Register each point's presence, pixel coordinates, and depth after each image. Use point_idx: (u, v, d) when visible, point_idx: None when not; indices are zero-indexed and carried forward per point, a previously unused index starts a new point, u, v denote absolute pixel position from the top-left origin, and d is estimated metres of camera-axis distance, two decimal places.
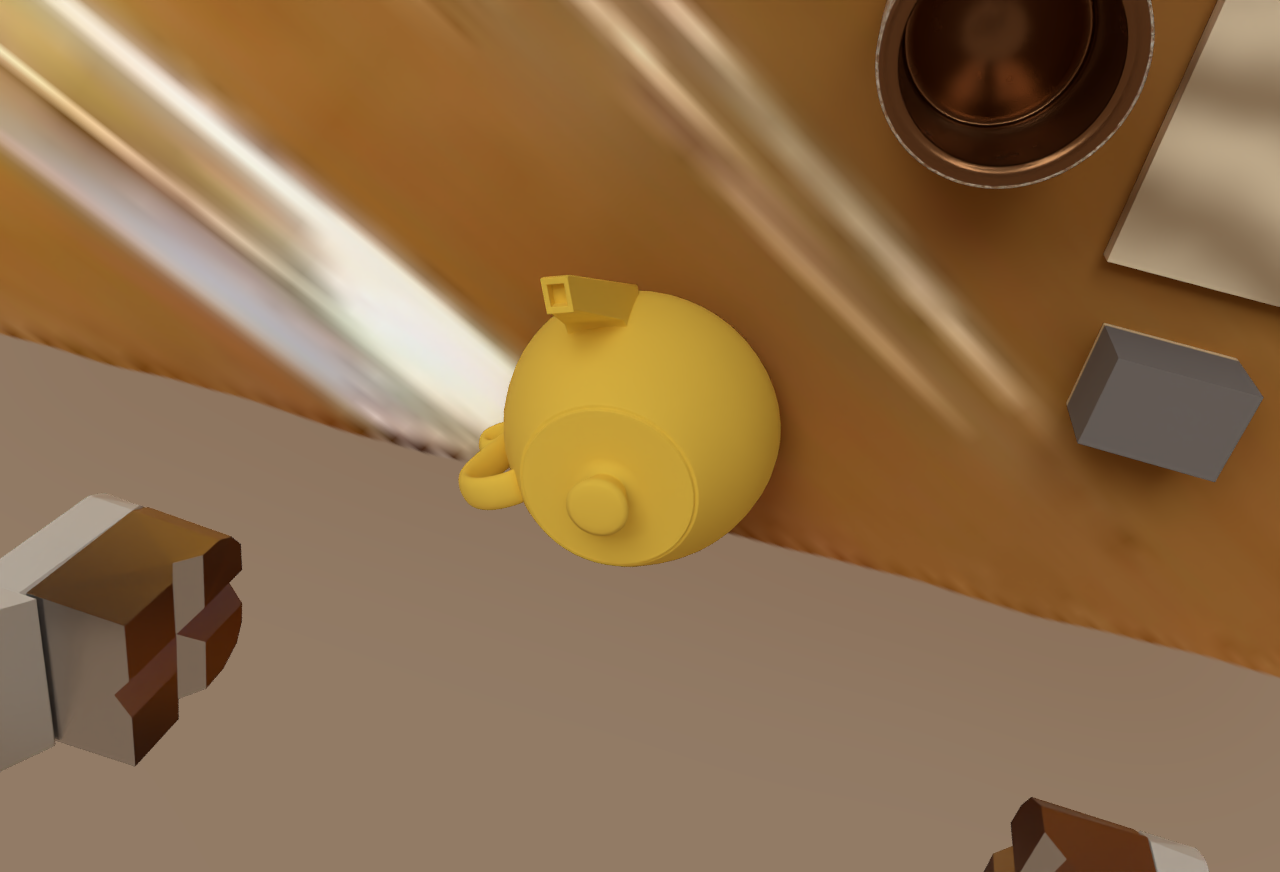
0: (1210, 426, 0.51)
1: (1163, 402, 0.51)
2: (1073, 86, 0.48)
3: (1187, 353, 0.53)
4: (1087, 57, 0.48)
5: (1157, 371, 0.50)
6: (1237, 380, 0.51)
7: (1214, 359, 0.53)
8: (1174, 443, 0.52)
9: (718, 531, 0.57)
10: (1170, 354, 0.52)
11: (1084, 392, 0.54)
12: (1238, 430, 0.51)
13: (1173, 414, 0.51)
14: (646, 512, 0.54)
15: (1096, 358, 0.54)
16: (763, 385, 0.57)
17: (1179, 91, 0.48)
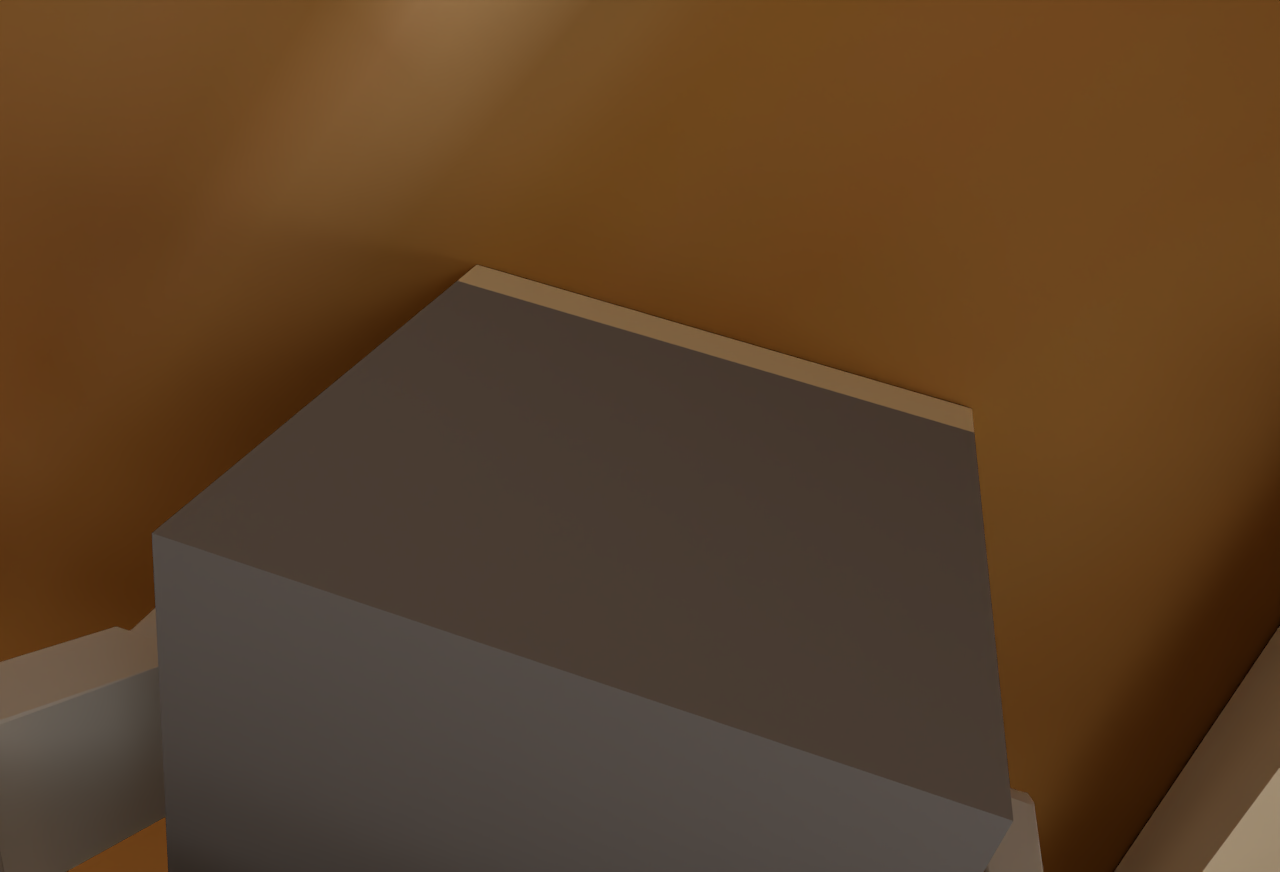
0: None
1: None
2: None
3: None
4: None
5: None
6: None
7: None
8: None
9: None
10: None
11: (574, 418, 0.08)
12: None
13: None
14: None
15: (801, 446, 0.08)
16: None
17: None
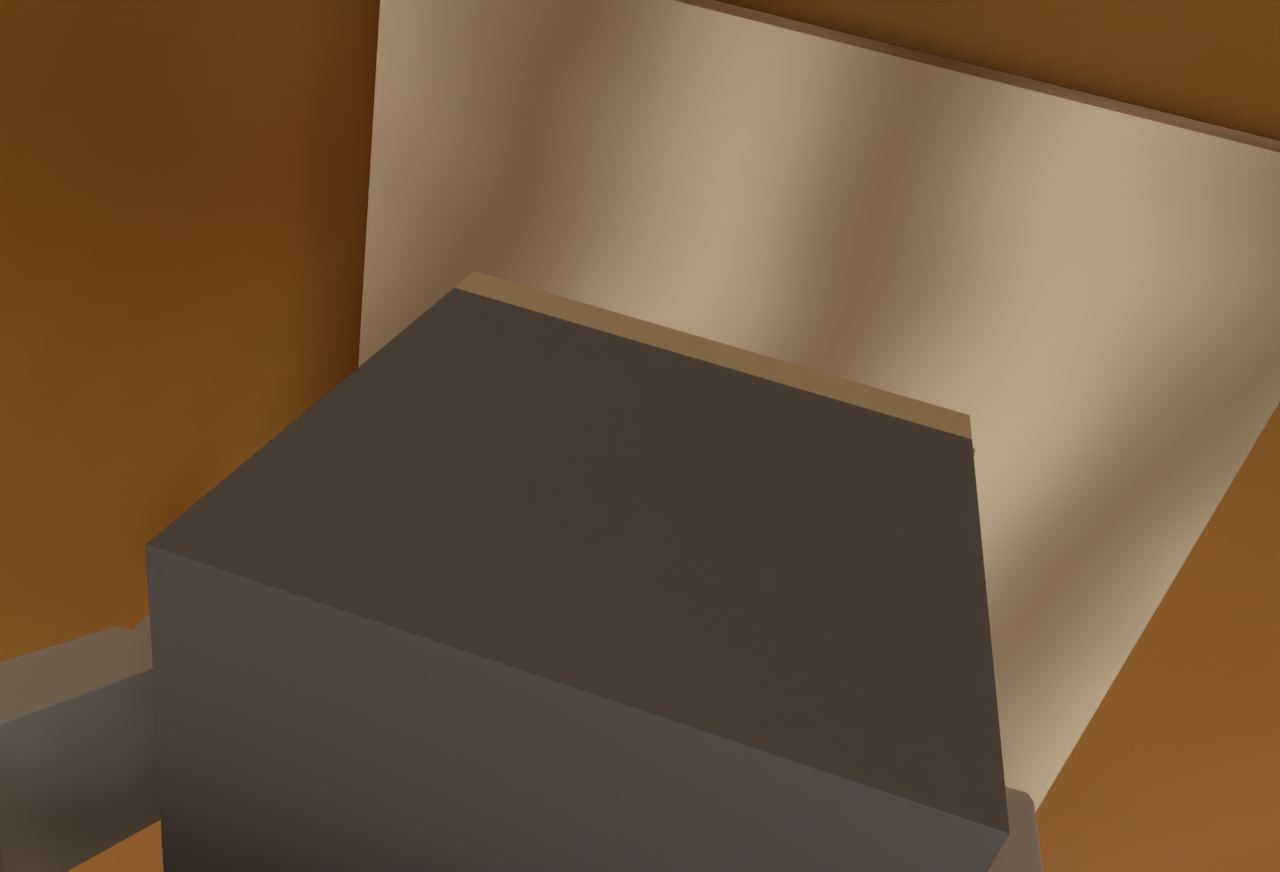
0: None
1: None
2: None
3: None
4: None
5: None
6: None
7: None
8: None
9: None
10: None
11: (571, 427, 0.08)
12: None
13: None
14: None
15: (799, 454, 0.08)
16: None
17: (891, 48, 0.16)
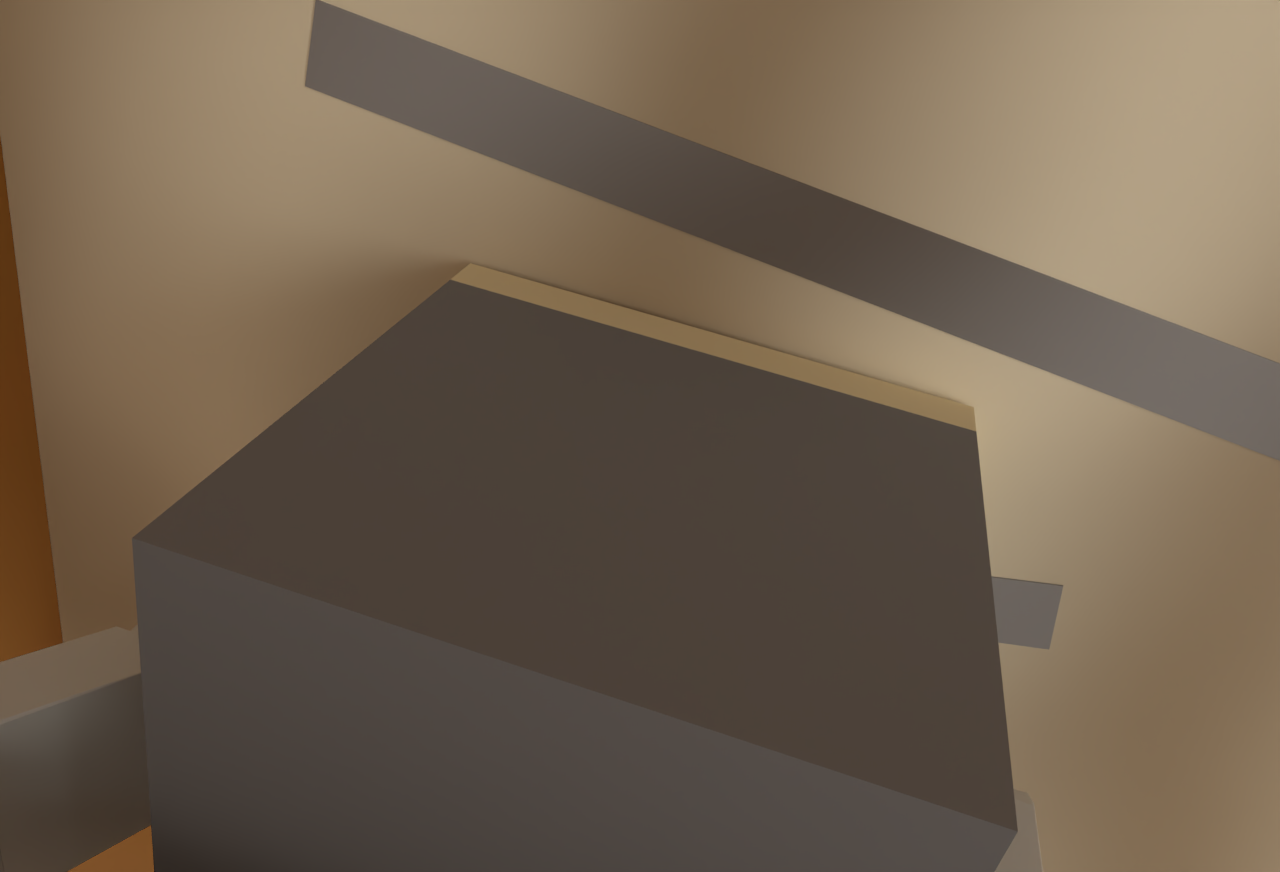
0: None
1: None
2: None
3: None
4: None
5: None
6: None
7: None
8: None
9: None
10: None
11: (568, 418, 0.08)
12: None
13: None
14: None
15: (800, 446, 0.08)
16: None
17: None
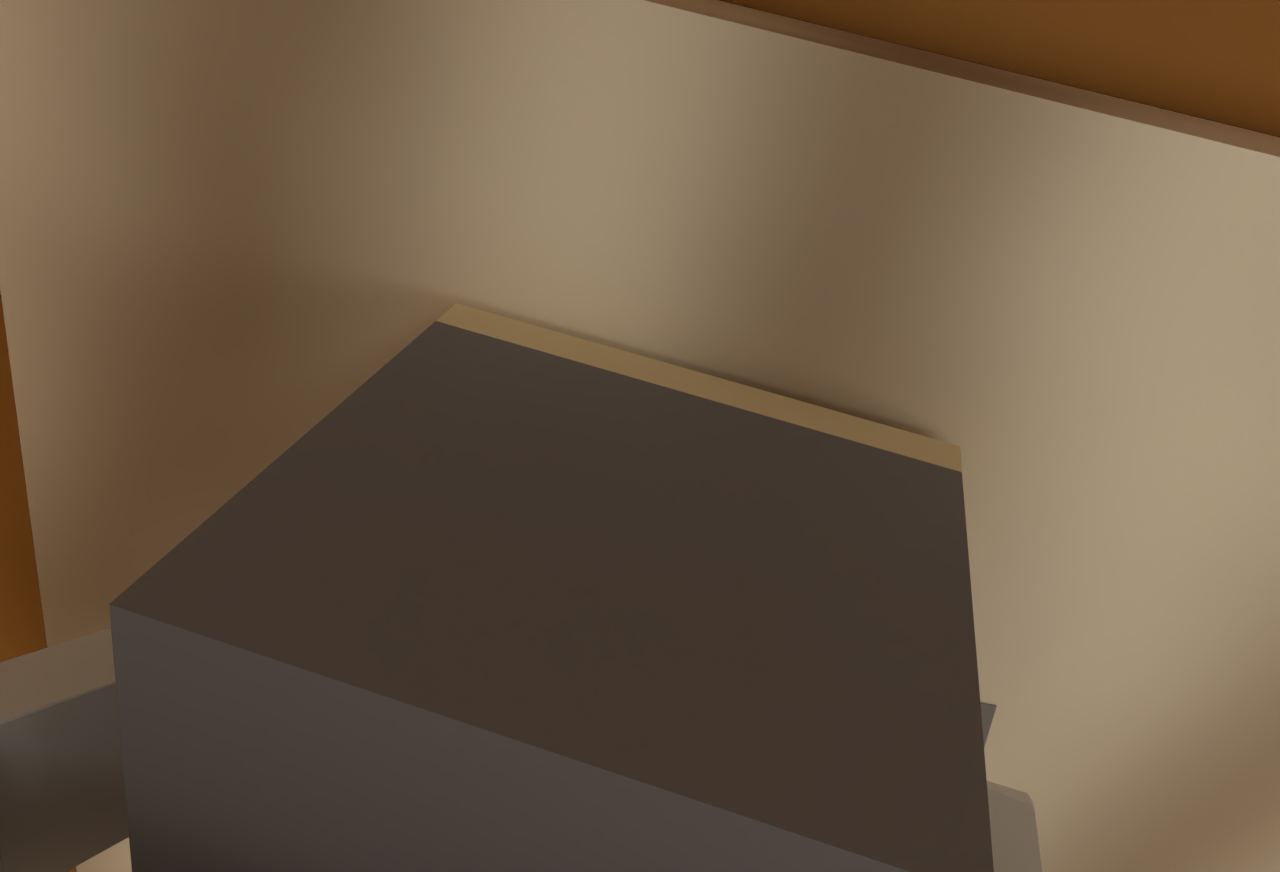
0: None
1: None
2: None
3: None
4: None
5: None
6: None
7: None
8: None
9: None
10: None
11: (551, 467, 0.08)
12: None
13: None
14: None
15: (784, 491, 0.08)
16: None
17: (846, 38, 0.09)
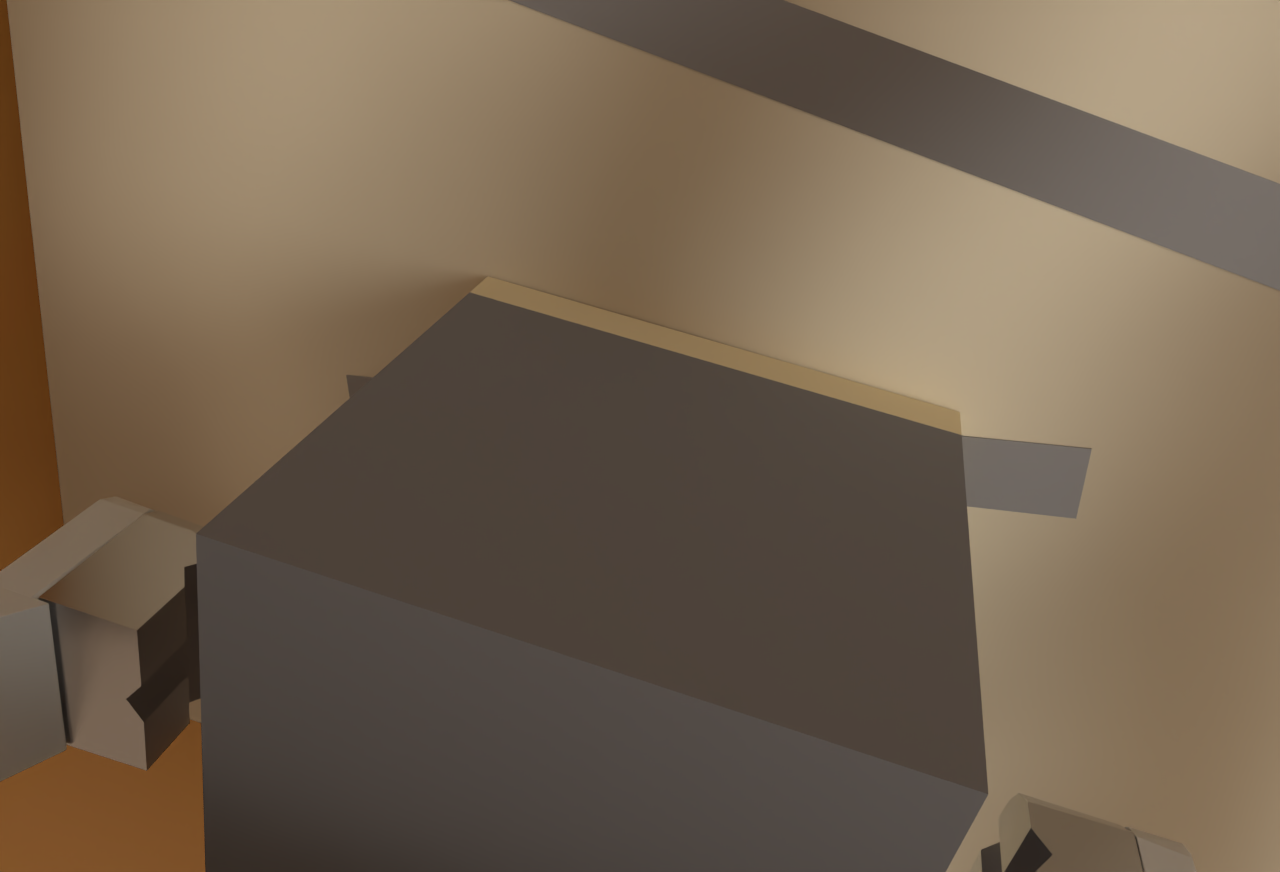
0: None
1: None
2: None
3: None
4: None
5: None
6: None
7: None
8: None
9: None
10: None
11: (582, 424, 0.08)
12: None
13: None
14: None
15: (797, 449, 0.09)
16: None
17: None
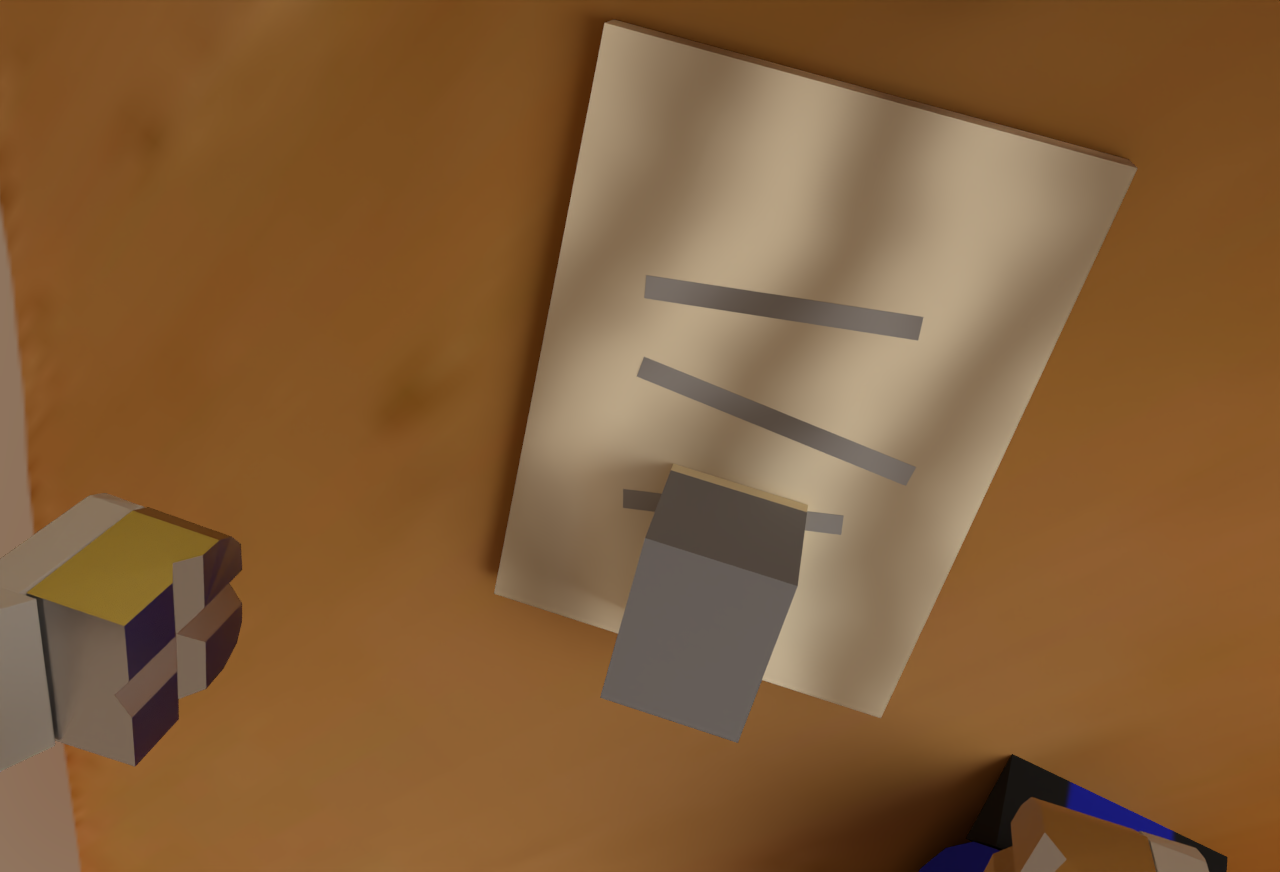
0: (689, 691, 0.35)
1: (723, 639, 0.33)
2: None
3: None
4: None
5: (775, 631, 0.33)
6: None
7: None
8: (657, 653, 0.34)
9: None
10: None
11: (710, 511, 0.34)
12: (684, 719, 0.35)
13: (704, 651, 0.34)
14: None
15: (762, 517, 0.35)
16: None
17: (879, 93, 0.30)
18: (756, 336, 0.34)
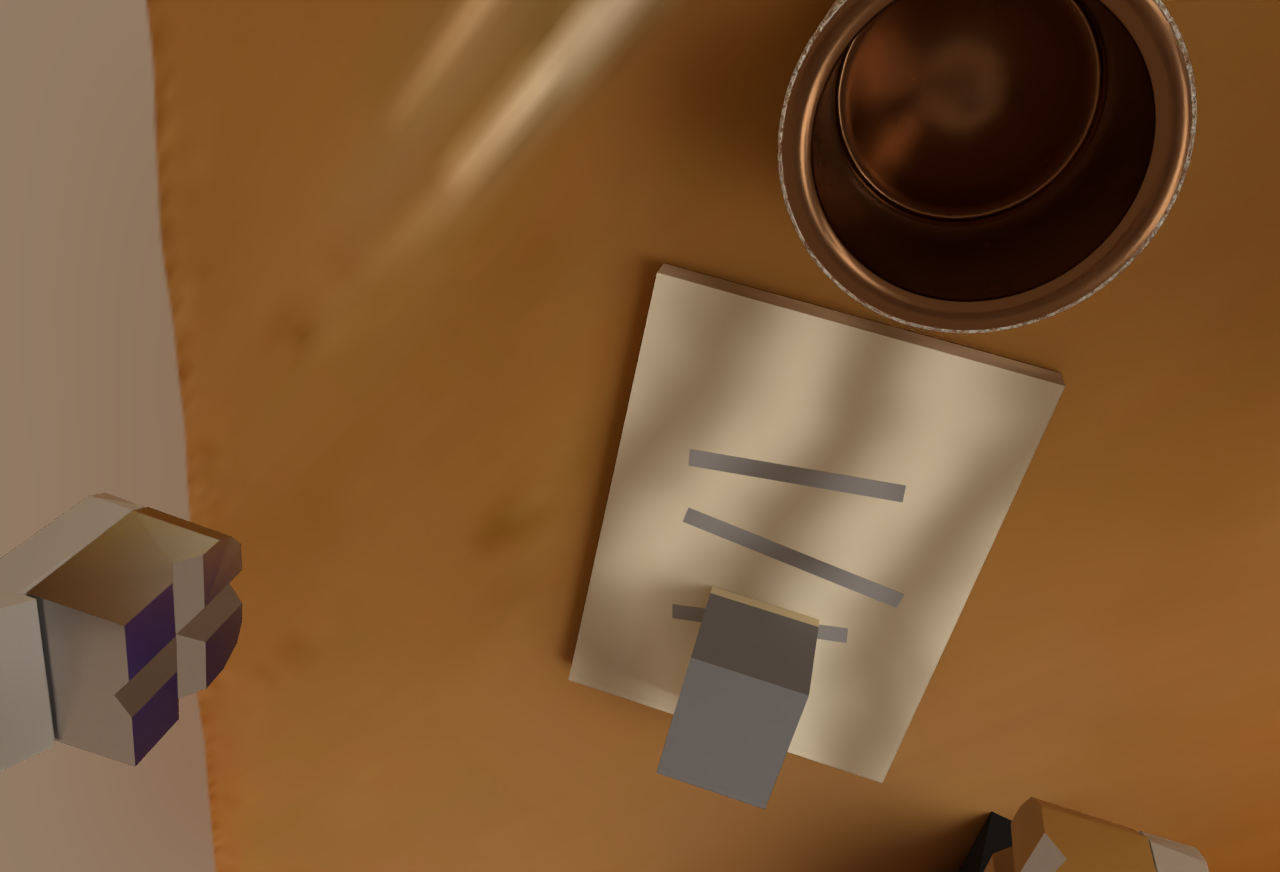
0: (726, 769, 0.44)
1: (752, 732, 0.43)
2: (886, 206, 0.36)
3: None
4: (920, 216, 0.37)
5: (793, 727, 0.42)
6: None
7: None
8: (701, 741, 0.44)
9: None
10: None
11: (741, 630, 0.44)
12: (723, 790, 0.45)
13: (738, 740, 0.43)
14: None
15: (783, 633, 0.44)
16: None
17: (867, 323, 0.40)
18: (776, 495, 0.43)
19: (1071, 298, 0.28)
